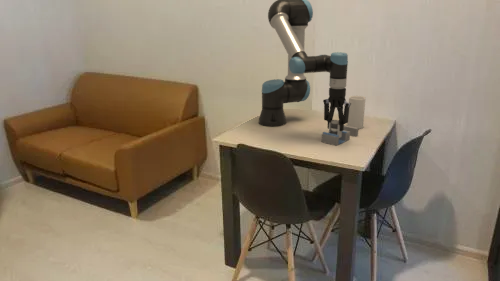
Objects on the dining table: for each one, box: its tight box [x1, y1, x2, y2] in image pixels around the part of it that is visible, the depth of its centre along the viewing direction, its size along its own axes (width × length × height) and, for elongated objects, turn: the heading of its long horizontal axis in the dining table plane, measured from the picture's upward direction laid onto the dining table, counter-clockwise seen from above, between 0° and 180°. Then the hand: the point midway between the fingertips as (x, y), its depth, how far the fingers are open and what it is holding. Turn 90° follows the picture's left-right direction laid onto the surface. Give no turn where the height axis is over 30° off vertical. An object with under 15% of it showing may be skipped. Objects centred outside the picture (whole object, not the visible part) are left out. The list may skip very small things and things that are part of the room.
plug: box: [331, 119, 339, 135], centre depth 188 cm, size 4×4×8 cm
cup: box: [346, 95, 366, 130], centre depth 210 cm, size 8×8×16 cm
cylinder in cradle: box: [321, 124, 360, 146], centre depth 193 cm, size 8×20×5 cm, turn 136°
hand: (334, 136), depth 189 cm, fingers closed on plug, 4 cm apart
